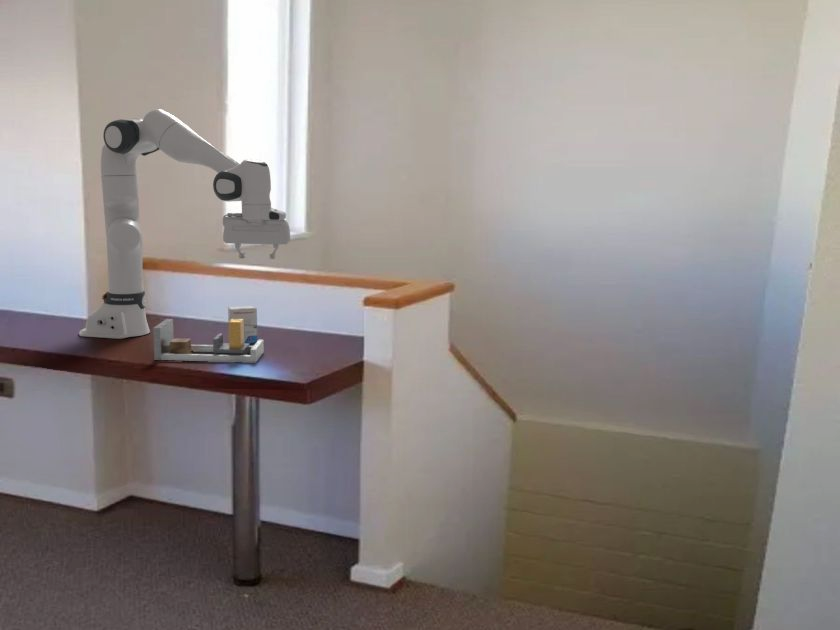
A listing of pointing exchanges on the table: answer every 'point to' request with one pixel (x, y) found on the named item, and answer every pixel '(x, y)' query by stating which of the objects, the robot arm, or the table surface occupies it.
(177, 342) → the wooden cube
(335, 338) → the table surface
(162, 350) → the frame
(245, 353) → the slider
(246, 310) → the ink box
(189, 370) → the table surface
